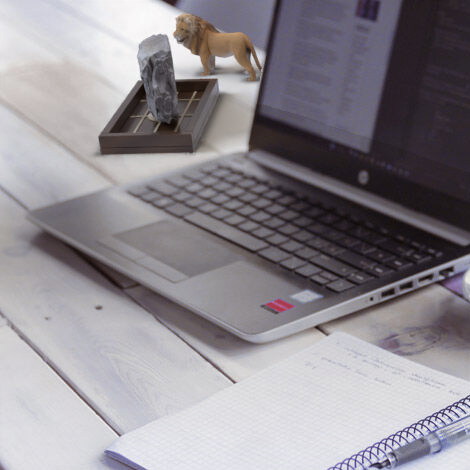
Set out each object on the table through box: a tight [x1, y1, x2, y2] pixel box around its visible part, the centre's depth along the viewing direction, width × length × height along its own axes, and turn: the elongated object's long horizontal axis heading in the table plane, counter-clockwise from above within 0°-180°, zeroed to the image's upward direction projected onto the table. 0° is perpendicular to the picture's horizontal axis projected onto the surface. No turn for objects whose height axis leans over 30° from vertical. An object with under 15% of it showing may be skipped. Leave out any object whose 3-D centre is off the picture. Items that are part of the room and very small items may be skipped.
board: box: [97, 77, 221, 156], centre depth 121 cm, size 11×21×3 cm, turn 179°
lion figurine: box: [172, 13, 263, 82], centre depth 137 cm, size 15×5×9 cm, turn 72°
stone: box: [136, 33, 180, 124], centre depth 119 cm, size 15×5×10 cm, turn 9°
